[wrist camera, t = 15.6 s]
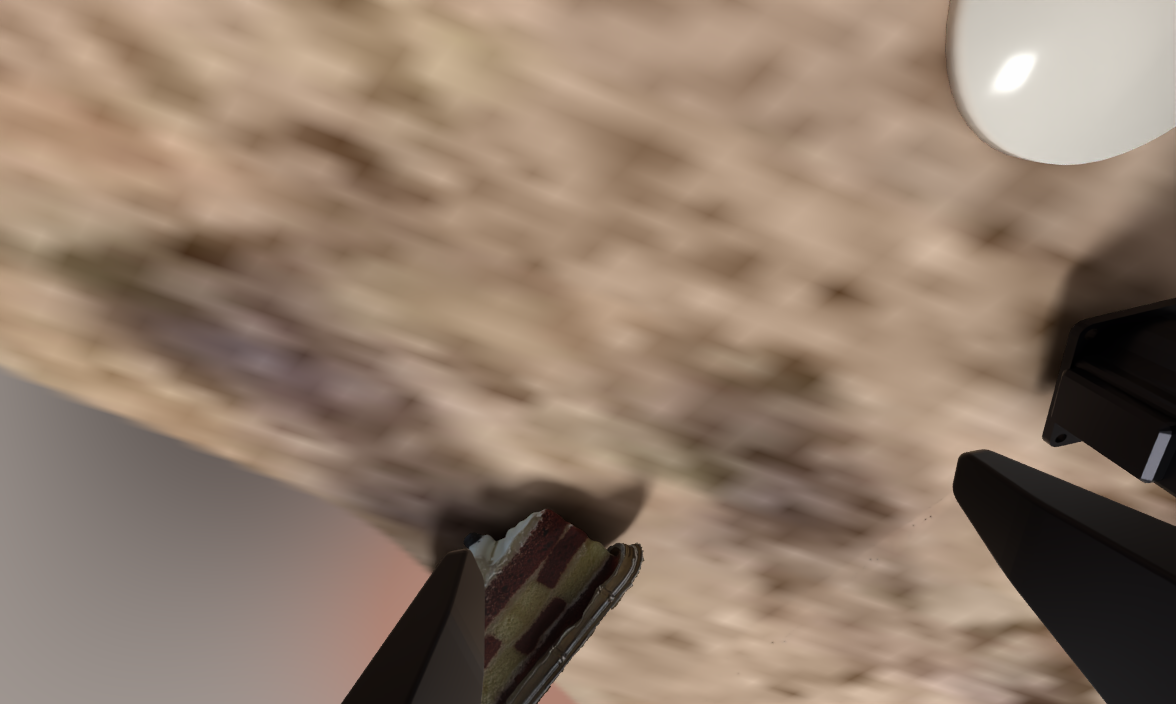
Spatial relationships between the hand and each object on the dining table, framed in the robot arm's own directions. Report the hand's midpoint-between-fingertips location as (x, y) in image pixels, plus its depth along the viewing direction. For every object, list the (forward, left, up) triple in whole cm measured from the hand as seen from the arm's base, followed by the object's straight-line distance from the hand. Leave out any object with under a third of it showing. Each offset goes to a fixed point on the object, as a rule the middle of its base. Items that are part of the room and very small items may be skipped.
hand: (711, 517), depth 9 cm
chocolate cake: (+5, +13, -14) cm, 20 cm away
